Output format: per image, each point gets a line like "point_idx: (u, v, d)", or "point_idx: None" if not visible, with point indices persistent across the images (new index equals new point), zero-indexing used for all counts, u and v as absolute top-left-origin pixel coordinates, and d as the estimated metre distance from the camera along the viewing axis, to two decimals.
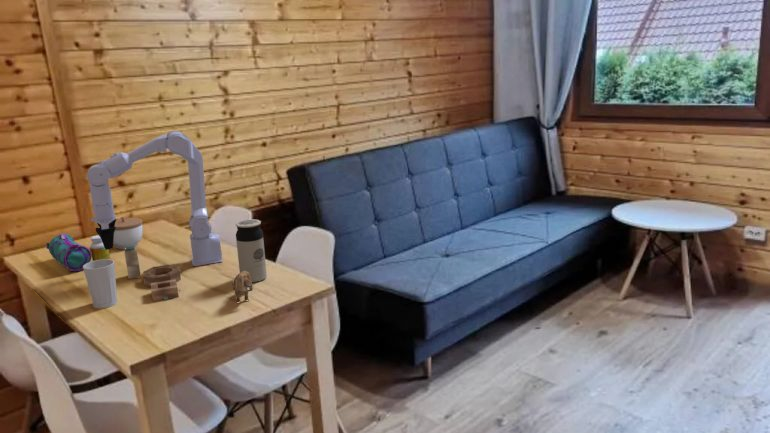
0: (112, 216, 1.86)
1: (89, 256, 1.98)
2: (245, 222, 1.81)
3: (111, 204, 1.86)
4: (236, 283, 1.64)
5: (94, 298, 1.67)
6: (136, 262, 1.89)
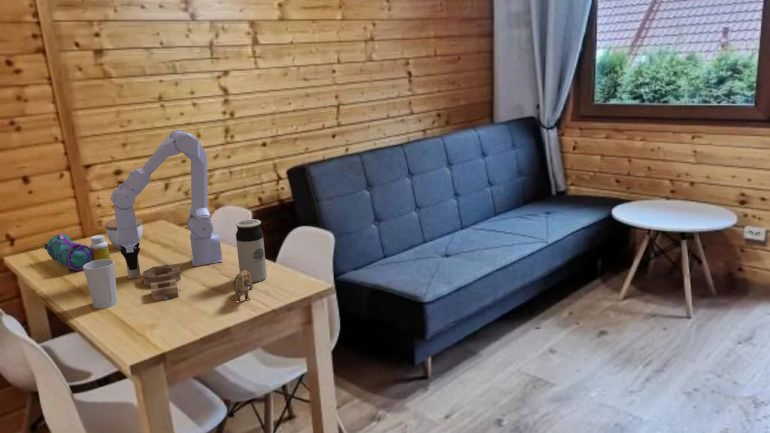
0: (136, 239, 1.87)
1: (91, 255, 1.99)
2: (245, 222, 1.81)
3: (135, 227, 1.87)
4: (236, 282, 1.64)
5: (94, 298, 1.67)
6: None
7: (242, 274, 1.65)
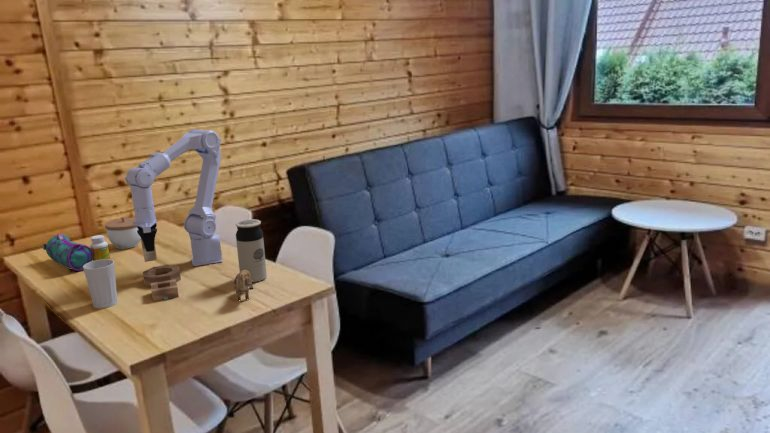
0: (153, 219, 1.82)
1: (91, 255, 1.99)
2: (245, 222, 1.81)
3: (152, 207, 1.82)
4: (237, 282, 1.65)
5: (94, 298, 1.67)
6: None
7: (242, 273, 1.65)
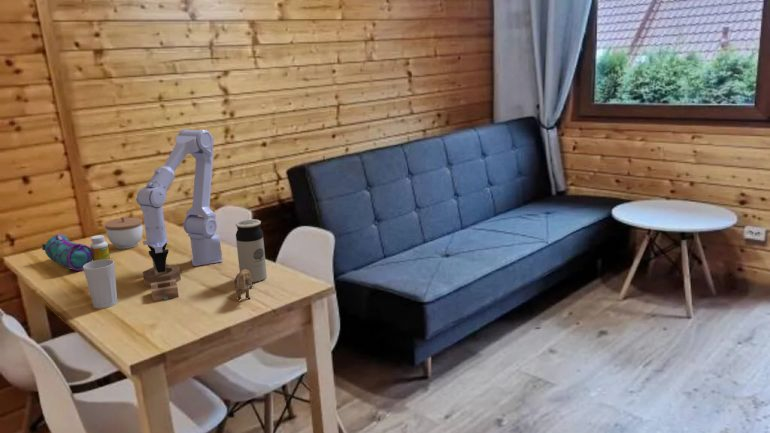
0: (164, 239, 1.83)
1: (91, 255, 1.99)
2: (245, 222, 1.81)
3: (164, 227, 1.82)
4: (238, 281, 1.65)
5: (94, 298, 1.67)
6: None
7: (243, 273, 1.65)
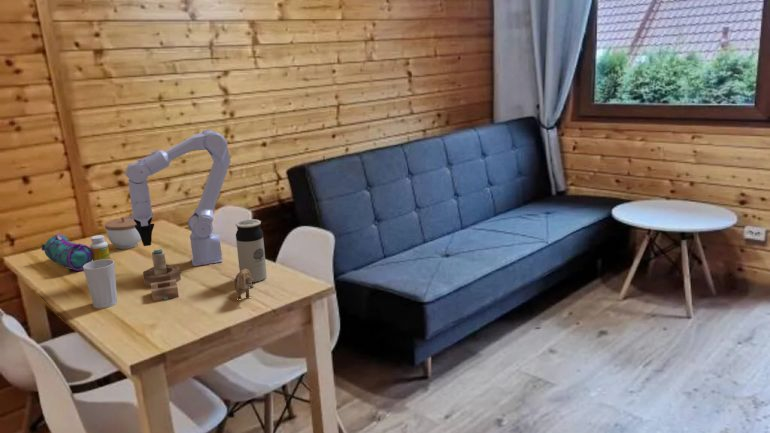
0: (150, 213, 1.89)
1: (91, 255, 1.99)
2: (245, 222, 1.81)
3: (149, 201, 1.89)
4: (238, 281, 1.65)
5: (94, 298, 1.67)
6: (164, 266, 1.84)
7: (243, 272, 1.66)
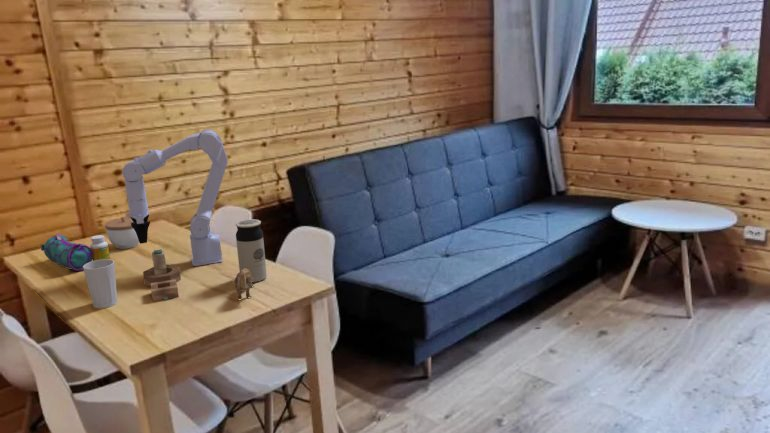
0: (146, 211, 1.92)
1: (91, 255, 1.99)
2: (245, 222, 1.81)
3: (145, 199, 1.91)
4: (238, 280, 1.66)
5: (94, 298, 1.67)
6: (164, 266, 1.84)
7: (244, 272, 1.66)
